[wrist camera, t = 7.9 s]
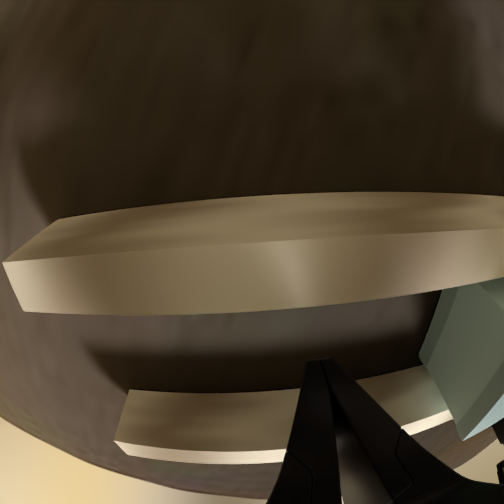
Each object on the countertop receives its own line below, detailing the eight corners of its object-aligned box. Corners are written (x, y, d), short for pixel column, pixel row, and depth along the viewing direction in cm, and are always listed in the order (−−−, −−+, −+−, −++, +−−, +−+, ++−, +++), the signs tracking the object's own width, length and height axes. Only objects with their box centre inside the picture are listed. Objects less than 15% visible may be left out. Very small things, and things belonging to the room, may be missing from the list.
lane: (542, 200, 8) (584, 225, 5) (484, 358, 12) (506, 391, 9) (58, 219, 8) (2, 262, 5) (139, 406, 12) (127, 454, 10)
